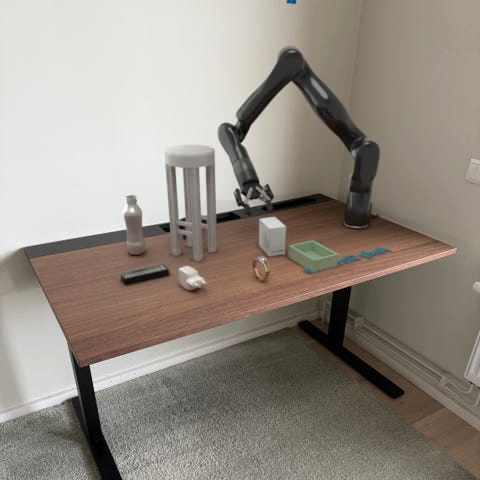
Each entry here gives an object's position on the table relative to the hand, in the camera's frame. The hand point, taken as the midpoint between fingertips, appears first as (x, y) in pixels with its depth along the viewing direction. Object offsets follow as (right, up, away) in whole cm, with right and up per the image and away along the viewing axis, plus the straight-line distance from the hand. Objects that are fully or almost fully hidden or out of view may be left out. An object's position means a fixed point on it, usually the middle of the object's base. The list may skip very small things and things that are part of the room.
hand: (260, 213), depth 170 cm
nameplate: (+30, -18, -7) cm, 36 cm away
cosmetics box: (+4, -13, 0) cm, 14 cm away
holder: (+17, -18, -8) cm, 27 cm away
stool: (-23, -15, -2) cm, 28 cm away
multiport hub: (-37, -25, -20) cm, 49 cm away
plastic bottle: (-44, -15, -3) cm, 46 cm away
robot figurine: (-26, -3, +17) cm, 31 cm away
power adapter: (-21, -29, -27) cm, 45 cm away
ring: (-1, -26, -21) cm, 33 cm away
